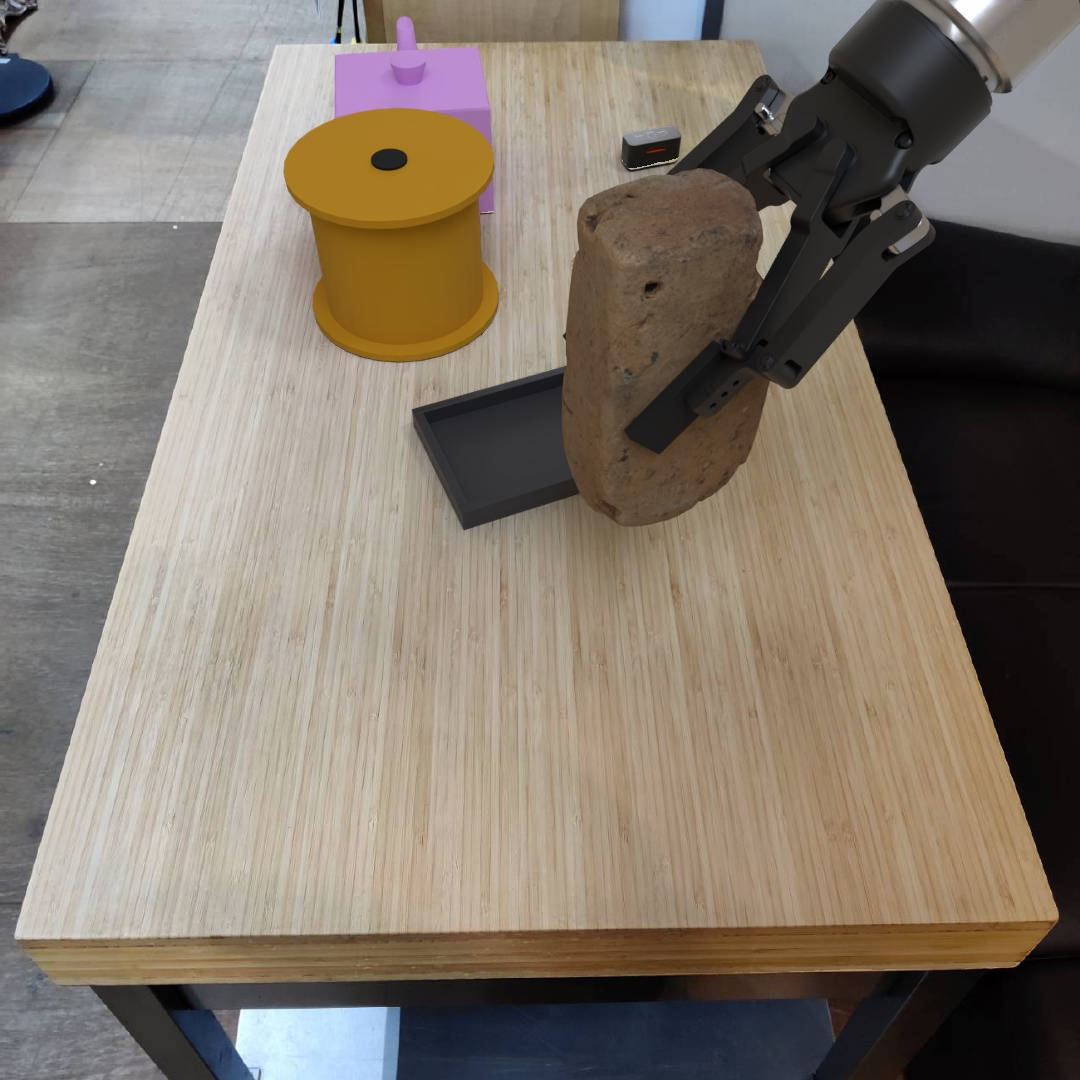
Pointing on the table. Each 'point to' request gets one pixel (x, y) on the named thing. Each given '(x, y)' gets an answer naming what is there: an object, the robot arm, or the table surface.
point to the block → (657, 338)
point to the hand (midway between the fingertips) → (609, 393)
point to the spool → (397, 231)
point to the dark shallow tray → (499, 447)
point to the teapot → (417, 84)
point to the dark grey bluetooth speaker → (650, 146)
